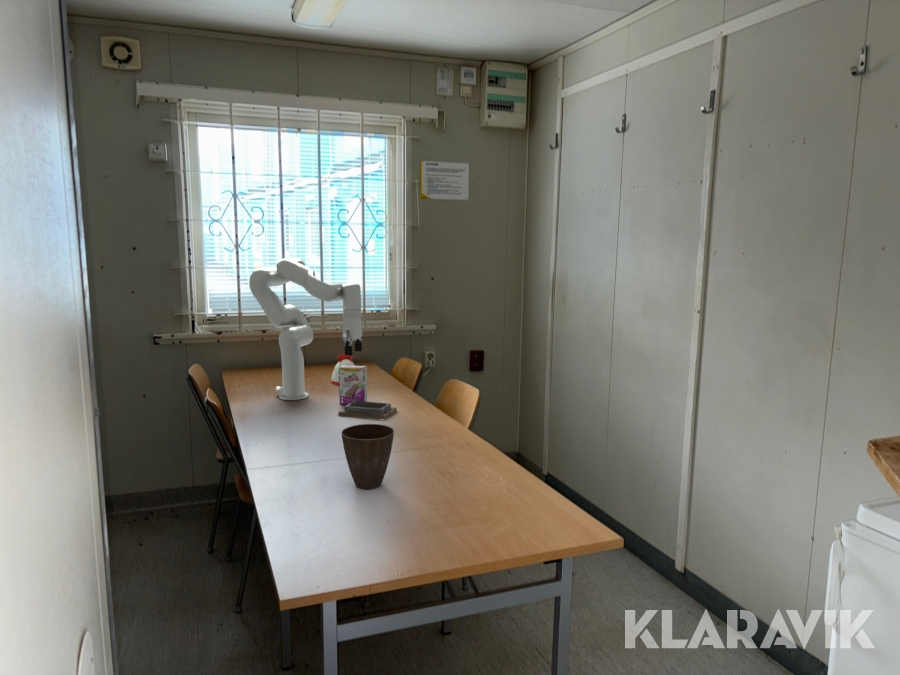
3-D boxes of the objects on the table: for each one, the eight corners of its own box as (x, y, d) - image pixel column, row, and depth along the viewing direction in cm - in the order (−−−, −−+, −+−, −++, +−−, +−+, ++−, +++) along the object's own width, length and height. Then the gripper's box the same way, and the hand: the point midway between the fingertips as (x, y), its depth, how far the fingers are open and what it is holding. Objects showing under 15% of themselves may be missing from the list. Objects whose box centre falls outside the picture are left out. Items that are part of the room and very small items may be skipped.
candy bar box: (339, 404, 264) (338, 367, 262) (342, 401, 269) (341, 364, 267) (364, 405, 263) (364, 368, 261) (367, 402, 268) (367, 365, 266)
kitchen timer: (328, 380, 310) (327, 351, 307) (355, 378, 315) (354, 349, 313) (335, 386, 297) (334, 356, 295) (363, 384, 303) (362, 354, 300)
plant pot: (348, 474, 186) (347, 423, 184) (397, 475, 186) (396, 423, 183) (337, 494, 172) (336, 439, 169) (390, 495, 171) (390, 440, 169)
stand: (384, 419, 243) (384, 411, 242) (338, 415, 248) (338, 407, 248) (396, 411, 255) (396, 403, 254) (352, 407, 260) (352, 399, 260)
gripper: (352, 310, 269) (354, 349, 272) (334, 315, 253) (336, 356, 255) (368, 311, 267) (369, 350, 270) (351, 315, 251) (352, 357, 253)
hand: (353, 353), depth 263 cm, fingers open, 9 cm apart
